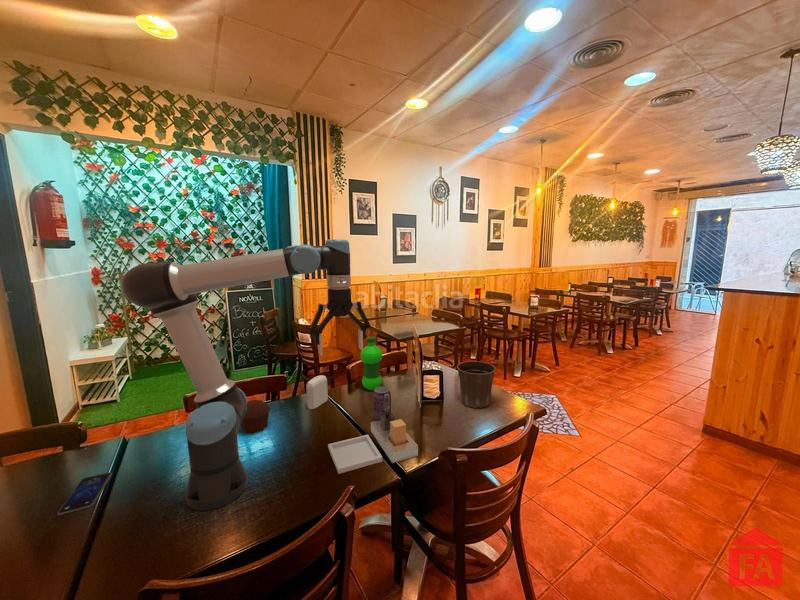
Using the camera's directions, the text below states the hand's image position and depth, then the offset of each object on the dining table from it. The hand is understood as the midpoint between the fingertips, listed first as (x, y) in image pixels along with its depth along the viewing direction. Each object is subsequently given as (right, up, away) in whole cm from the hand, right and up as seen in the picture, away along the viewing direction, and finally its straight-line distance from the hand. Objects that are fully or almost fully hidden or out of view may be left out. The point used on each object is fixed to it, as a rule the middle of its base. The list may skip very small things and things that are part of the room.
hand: (341, 351), depth 110 cm
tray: (+5, -33, -3) cm, 34 cm away
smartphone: (-67, -37, -18) cm, 79 cm away
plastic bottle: (+6, -26, +50) cm, 56 cm away
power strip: (+17, -32, +4) cm, 37 cm away
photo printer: (-16, -28, +34) cm, 47 cm away
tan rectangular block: (+19, -33, 0) cm, 38 cm away
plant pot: (+52, -28, +35) cm, 69 cm away
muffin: (-35, -31, +15) cm, 49 cm away
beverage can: (+12, -30, +21) cm, 39 cm away
